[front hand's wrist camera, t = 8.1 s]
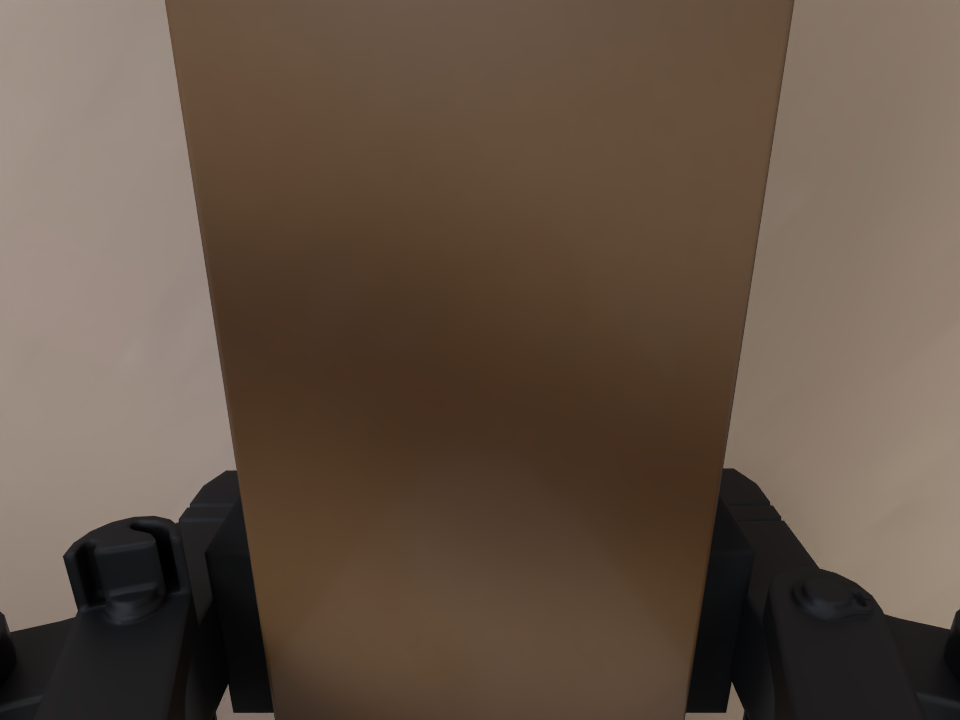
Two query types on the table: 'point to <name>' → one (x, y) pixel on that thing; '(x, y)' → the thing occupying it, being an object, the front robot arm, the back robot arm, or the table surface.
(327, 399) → the post
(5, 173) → the table surface
